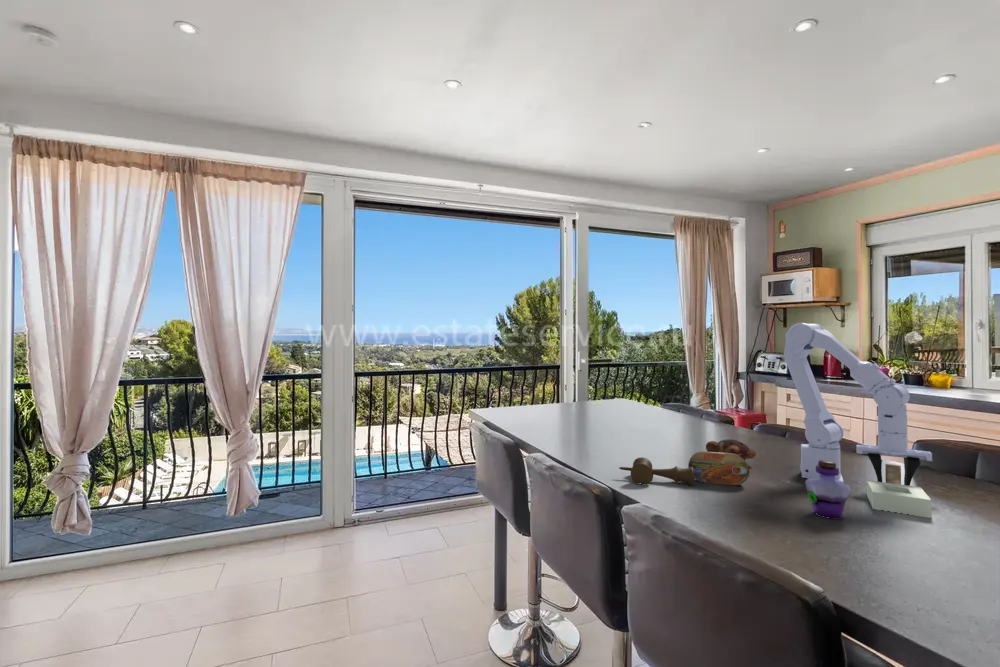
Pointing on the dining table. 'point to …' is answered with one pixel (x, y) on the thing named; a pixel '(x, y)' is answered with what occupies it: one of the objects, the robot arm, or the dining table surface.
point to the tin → (719, 468)
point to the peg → (893, 473)
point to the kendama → (658, 472)
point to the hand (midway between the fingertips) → (893, 484)
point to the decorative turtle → (731, 448)
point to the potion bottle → (827, 491)
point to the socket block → (899, 498)
